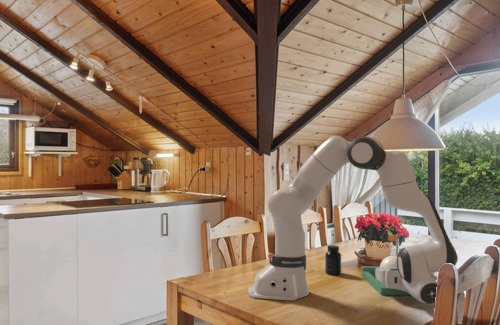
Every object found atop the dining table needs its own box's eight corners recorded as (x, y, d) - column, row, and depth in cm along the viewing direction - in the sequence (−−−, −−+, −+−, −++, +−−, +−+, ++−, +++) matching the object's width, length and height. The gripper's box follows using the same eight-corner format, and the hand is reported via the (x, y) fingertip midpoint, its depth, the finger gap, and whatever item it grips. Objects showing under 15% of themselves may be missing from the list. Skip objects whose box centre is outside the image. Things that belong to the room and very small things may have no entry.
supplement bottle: (331, 270, 183) (331, 243, 183) (344, 273, 178) (344, 246, 178) (322, 273, 178) (322, 246, 178) (335, 276, 174) (335, 248, 174)
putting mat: (381, 295, 150) (381, 246, 150) (361, 275, 176) (361, 233, 176) (427, 295, 150) (427, 246, 150) (400, 275, 176) (400, 234, 176)
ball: (384, 251, 162) (377, 255, 172) (382, 279, 158) (375, 281, 169) (413, 256, 161) (404, 260, 171) (411, 285, 157) (402, 287, 167)
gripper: (440, 270, 143) (423, 261, 157) (382, 270, 143) (370, 260, 157) (440, 288, 143) (423, 277, 157) (382, 288, 143) (370, 277, 157)
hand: (396, 269), depth 157 cm, fingers closed
